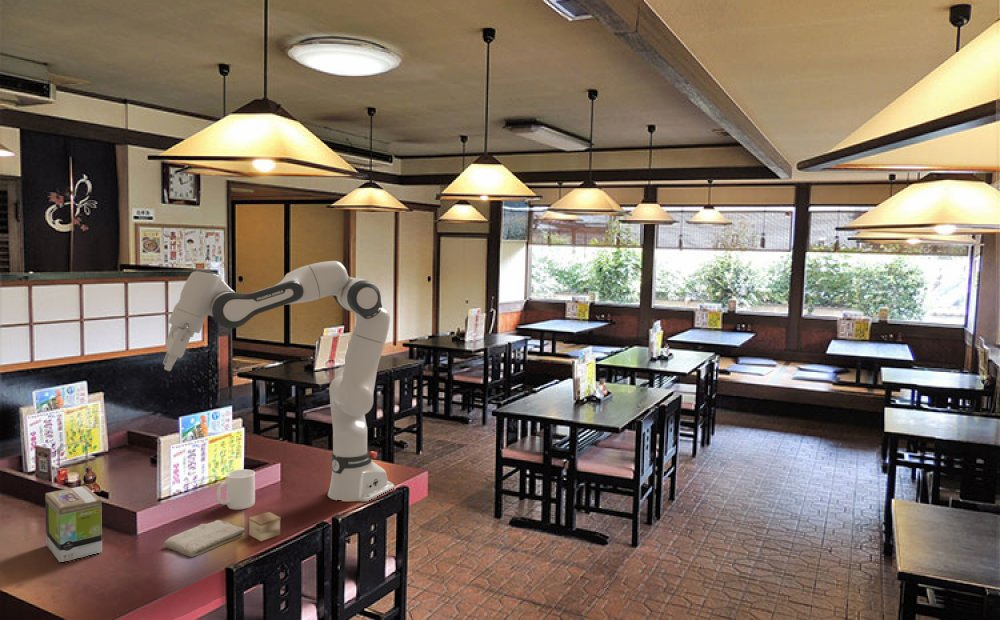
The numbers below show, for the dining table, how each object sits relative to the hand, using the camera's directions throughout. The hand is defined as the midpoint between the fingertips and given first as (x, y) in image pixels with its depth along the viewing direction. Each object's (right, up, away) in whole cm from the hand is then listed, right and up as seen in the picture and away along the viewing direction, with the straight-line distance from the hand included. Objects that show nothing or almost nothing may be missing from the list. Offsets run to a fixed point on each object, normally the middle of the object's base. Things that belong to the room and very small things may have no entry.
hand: (166, 367), depth 194 cm
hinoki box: (+28, -47, -1) cm, 55 cm away
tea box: (-18, -47, -13) cm, 52 cm away
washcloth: (+14, -48, -6) cm, 50 cm away
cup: (+12, -45, +19) cm, 51 cm away
